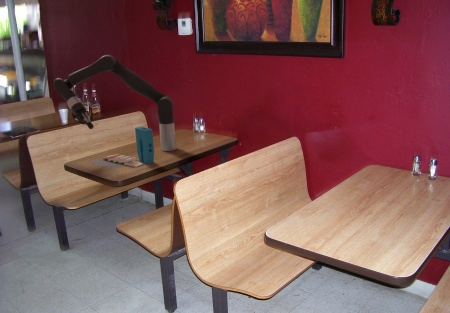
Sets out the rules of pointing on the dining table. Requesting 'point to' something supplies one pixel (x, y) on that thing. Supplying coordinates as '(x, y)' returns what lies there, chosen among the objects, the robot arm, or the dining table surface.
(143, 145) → the block
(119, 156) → the domino
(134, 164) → the domino
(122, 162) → the domino
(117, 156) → the terracotta tile
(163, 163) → the dining table surface
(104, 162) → the mat
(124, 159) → the domino
